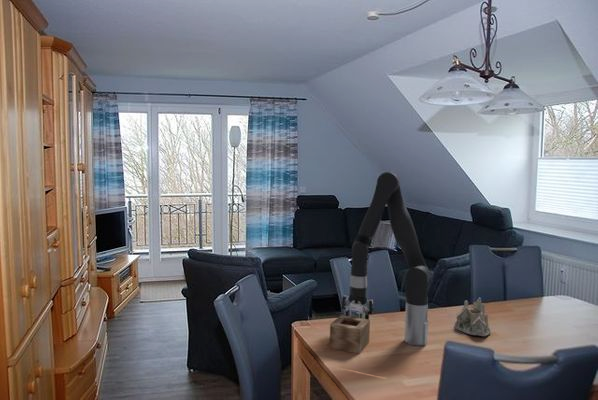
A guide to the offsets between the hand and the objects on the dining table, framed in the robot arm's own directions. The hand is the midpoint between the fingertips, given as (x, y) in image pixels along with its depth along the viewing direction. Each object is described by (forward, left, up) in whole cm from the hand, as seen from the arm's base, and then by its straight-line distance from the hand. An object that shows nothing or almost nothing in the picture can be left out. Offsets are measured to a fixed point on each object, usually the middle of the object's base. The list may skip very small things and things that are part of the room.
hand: (356, 320), depth 202 cm
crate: (-1, +13, -6) cm, 15 cm away
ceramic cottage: (-46, -29, -7) cm, 55 cm away
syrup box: (0, 0, -7) cm, 7 cm away
